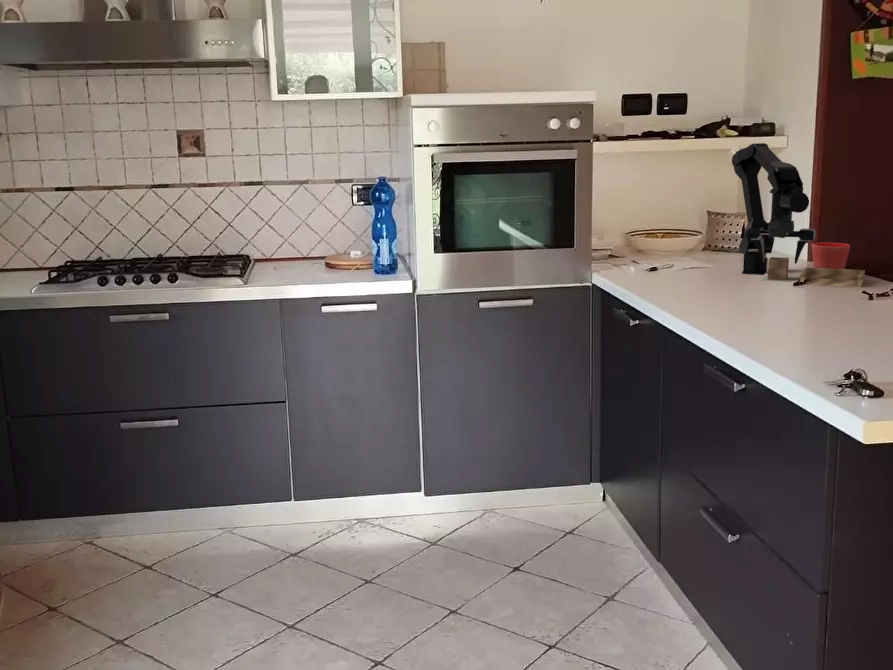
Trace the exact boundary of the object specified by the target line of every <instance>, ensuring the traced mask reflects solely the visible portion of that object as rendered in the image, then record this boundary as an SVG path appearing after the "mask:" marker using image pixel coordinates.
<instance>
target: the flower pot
mask: <svg viewBox="0 0 893 670" xmlns="http://www.w3.org/2000/svg"><path fill="white" fill-rule="evenodd" d="M850 249H851V245H850V243H849V244H848V243H843V242H842V243H841V242H814V243H811V253H812V255H811V256H812V263H813V268H825V269H846V266H847V265H846V264H847V261H848V257H849V253H850Z"/></svg>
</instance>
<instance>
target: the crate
mask: <svg viewBox="0 0 893 670" xmlns="http://www.w3.org/2000/svg"><path fill="white" fill-rule="evenodd" d="M865 273H866V270H865V269H846V268H845V269H825V268H814V267H805V268H804V269H803V270H802V271H801V273H800V274H799V275H800V276H799V283H800V282H804V280H806V279H810V281H809V283H806V284H805V285H812V286H816V285H817V286H829V287H830V286H834V287H852V288H853V287H854V288H856V287H857V288H862V286H863V284H864V282H865V278H866V277H865V275H866V274H865Z"/></svg>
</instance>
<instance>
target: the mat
mask: <svg viewBox="0 0 893 670" xmlns="http://www.w3.org/2000/svg"><path fill="white" fill-rule="evenodd" d="M794 278H795V277H793V276H788V278H787V279H786V280H768V275H766V276H764V277H763V278H762V279H761V281H767V282H768V281H769V282H789V283H790V282H792V281H793V280H794Z"/></svg>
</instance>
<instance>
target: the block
mask: <svg viewBox="0 0 893 670" xmlns="http://www.w3.org/2000/svg"><path fill="white" fill-rule="evenodd" d="M789 263H790V258H789V257H778V256H777V257H775V256H773V257H770V258H768V269H767V276H768V280H786V279H787V278H788V277H789Z"/></svg>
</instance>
